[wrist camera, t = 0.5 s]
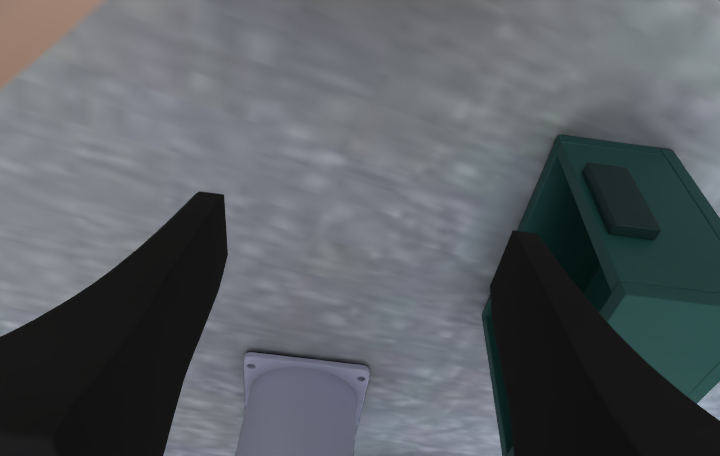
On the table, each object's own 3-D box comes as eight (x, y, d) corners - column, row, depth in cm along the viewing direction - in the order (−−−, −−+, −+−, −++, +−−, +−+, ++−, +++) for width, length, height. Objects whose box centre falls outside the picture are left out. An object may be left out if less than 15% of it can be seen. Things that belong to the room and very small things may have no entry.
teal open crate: (564, 330, 31) (609, 490, 24) (478, 320, 31) (501, 478, 24) (679, 139, 23) (798, 304, 16) (562, 123, 22) (632, 283, 16)
